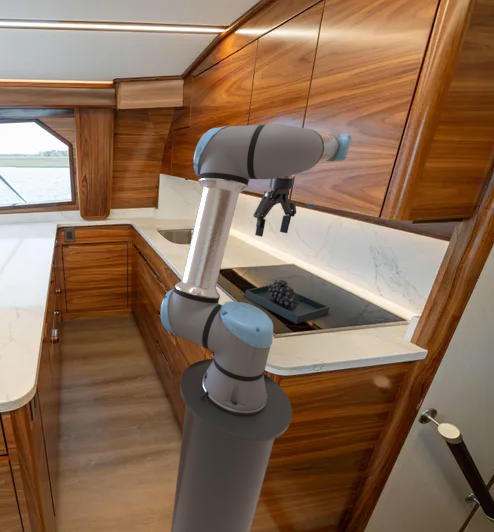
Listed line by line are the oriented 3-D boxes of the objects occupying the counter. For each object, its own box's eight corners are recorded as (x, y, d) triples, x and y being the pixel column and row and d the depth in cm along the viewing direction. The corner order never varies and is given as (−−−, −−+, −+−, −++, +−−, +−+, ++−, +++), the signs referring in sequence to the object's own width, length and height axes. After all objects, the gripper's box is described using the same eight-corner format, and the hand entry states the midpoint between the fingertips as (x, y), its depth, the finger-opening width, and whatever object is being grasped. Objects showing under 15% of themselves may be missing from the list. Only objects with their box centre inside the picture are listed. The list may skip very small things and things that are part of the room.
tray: (296, 324, 104) (298, 316, 103) (244, 296, 124) (245, 290, 123) (327, 314, 111) (329, 306, 110) (273, 289, 131) (275, 283, 129)
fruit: (305, 291, 106) (283, 274, 120) (282, 297, 108) (263, 280, 122) (307, 311, 110) (286, 292, 123) (284, 317, 111) (266, 298, 125)
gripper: (266, 179, 100) (256, 239, 108) (315, 177, 110) (302, 233, 117) (249, 177, 107) (240, 234, 114) (296, 176, 116) (284, 229, 124)
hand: (271, 234), depth 116 cm, fingers open, 13 cm apart
